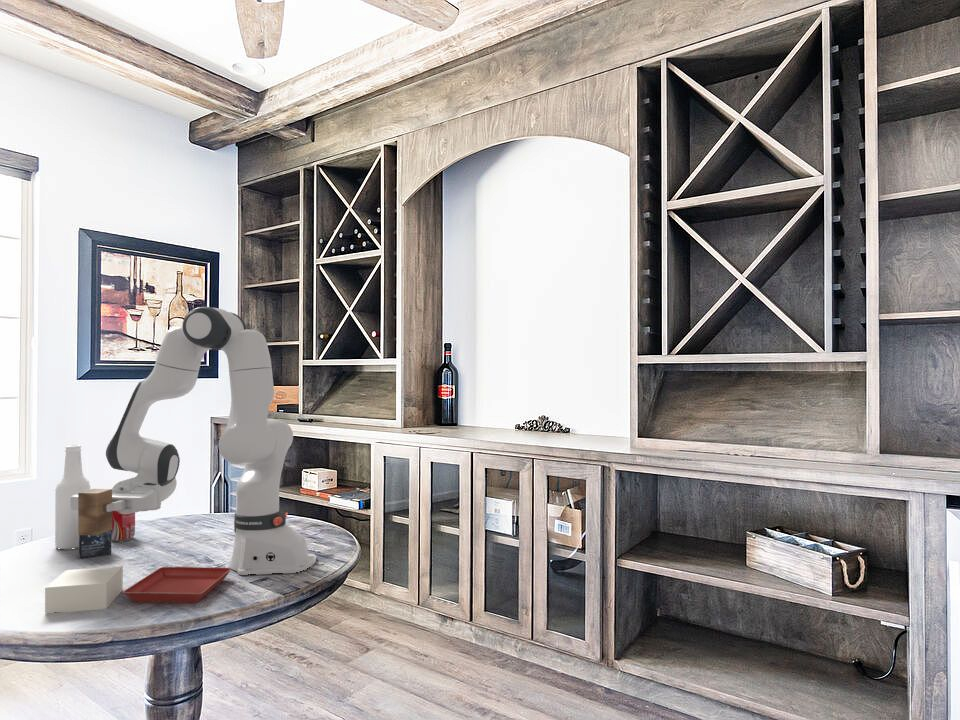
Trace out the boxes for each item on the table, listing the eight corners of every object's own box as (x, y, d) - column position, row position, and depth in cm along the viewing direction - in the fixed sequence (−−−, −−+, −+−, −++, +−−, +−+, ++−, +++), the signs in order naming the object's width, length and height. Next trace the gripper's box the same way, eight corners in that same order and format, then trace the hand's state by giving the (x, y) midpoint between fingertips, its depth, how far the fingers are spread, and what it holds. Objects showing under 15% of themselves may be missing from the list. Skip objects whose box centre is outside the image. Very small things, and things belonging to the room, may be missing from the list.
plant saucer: (232, 579, 161) (232, 566, 161) (201, 607, 143) (201, 592, 143) (161, 579, 161) (161, 566, 161) (121, 607, 143) (121, 592, 143)
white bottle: (60, 543, 192) (61, 444, 192) (93, 540, 195) (94, 443, 195) (50, 551, 184) (51, 448, 184) (85, 549, 186) (85, 446, 186)
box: (79, 559, 177) (79, 521, 177) (78, 554, 181) (79, 517, 181) (111, 554, 181) (111, 517, 181) (110, 549, 186) (110, 513, 186)
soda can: (110, 537, 198) (110, 499, 198) (135, 535, 201) (135, 497, 201) (107, 543, 192) (107, 504, 192) (134, 541, 195) (134, 501, 195)
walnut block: (112, 529, 155) (112, 489, 155) (98, 535, 150) (98, 493, 150) (92, 529, 156) (92, 488, 156) (78, 535, 151) (78, 493, 151)
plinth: (122, 591, 153) (122, 566, 153) (106, 610, 141) (106, 583, 141) (66, 595, 150) (66, 570, 150) (44, 615, 138) (45, 587, 138)
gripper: (92, 483, 167) (52, 494, 153) (166, 484, 165) (132, 495, 151) (92, 507, 167) (52, 520, 153) (166, 508, 165) (132, 522, 151)
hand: (92, 508), depth 152 cm, fingers closed on walnut block, 5 cm apart
